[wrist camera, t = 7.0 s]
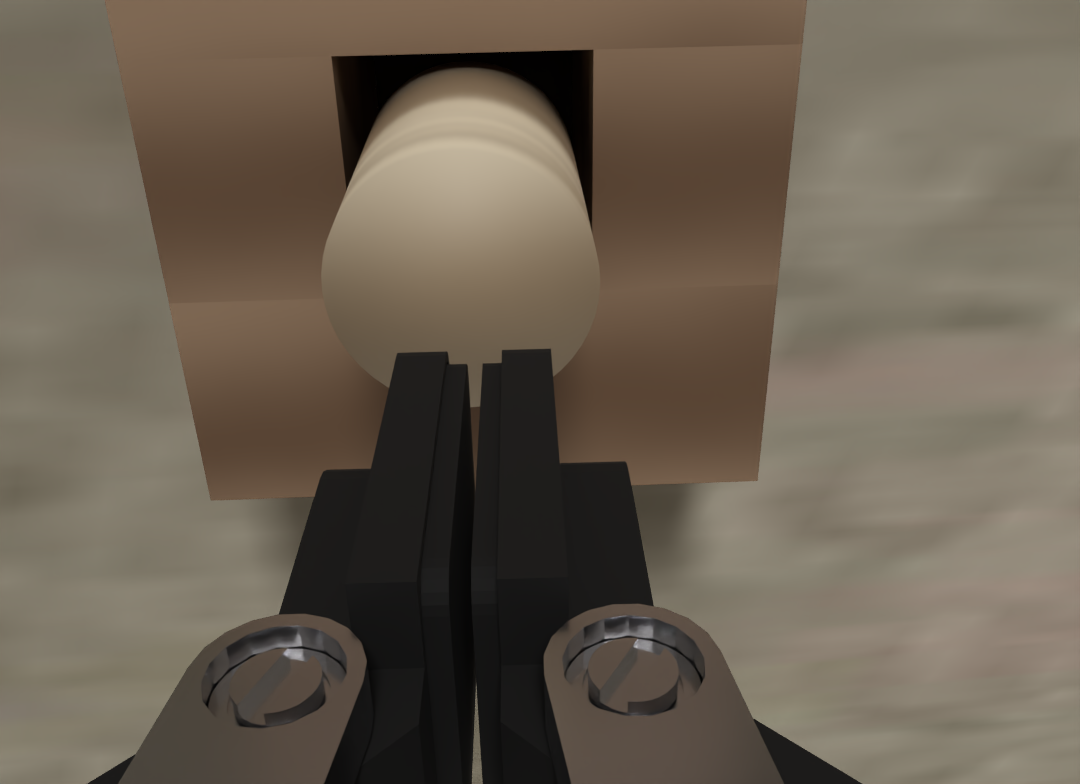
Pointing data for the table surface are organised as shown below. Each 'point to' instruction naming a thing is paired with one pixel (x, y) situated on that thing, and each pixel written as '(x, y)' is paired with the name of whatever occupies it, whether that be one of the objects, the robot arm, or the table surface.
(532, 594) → the robot arm
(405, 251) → the peg
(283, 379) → the press block
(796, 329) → the table surface
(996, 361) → the table surface
